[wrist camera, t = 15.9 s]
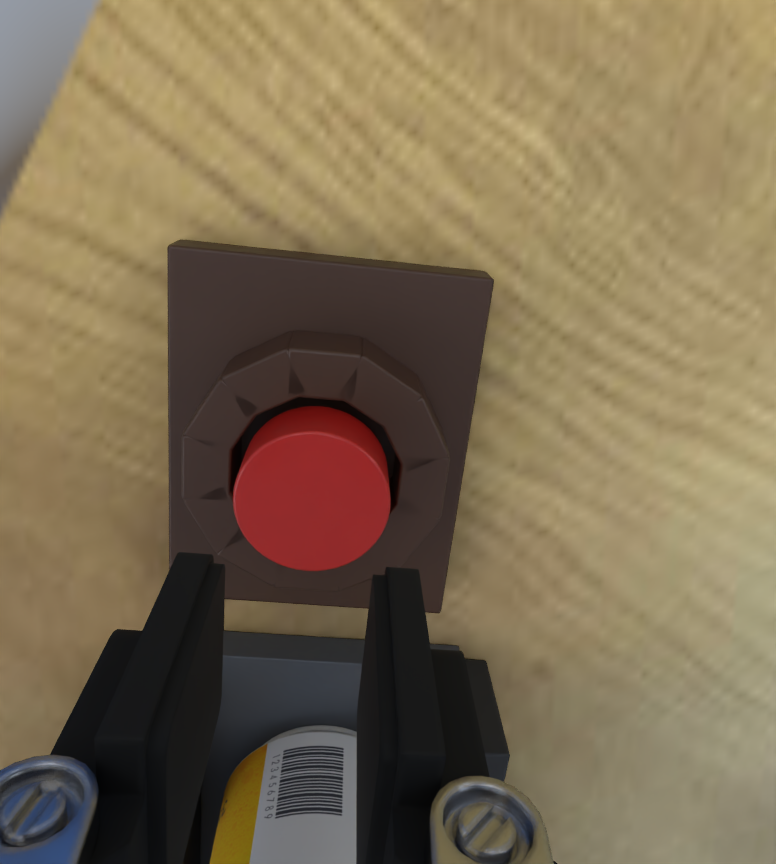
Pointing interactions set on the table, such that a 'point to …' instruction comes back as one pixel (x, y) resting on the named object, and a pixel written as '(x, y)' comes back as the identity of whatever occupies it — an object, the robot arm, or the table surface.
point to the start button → (313, 489)
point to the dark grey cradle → (301, 708)
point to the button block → (320, 398)
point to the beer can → (292, 801)
